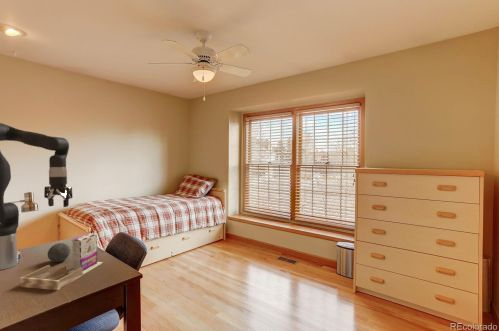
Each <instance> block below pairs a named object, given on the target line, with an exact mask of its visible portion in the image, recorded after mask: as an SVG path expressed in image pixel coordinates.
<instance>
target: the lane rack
mask: <svg viewBox="0 0 499 331" xmlns="http://www.w3.org/2000/svg"><path fill="white" fill-rule="evenodd" d="M83 276H84V274H83V268H82V267H81V268H79V269H77V270H75V271H73V272H72V273H67V266H64V265H63V266H61V267H60V268H57V269H56V270H54V271H52V272H51V265H50V264H47V265H45V266H43V267H41V268H38V269H37V270H34V271H32V272H30V273H28V274H25V275H24V276H21V277H20V278H19V287H21V288H30V289H42V290H50V291H52V290H53V291H59V290H60V289H63V288H64V287H66V286H68V285H69V284H71V283H73V282H74V281H76V280H78V279H79V278H81V277H83Z"/></svg>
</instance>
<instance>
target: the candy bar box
mask: <svg viewBox="0 0 499 331" xmlns="http://www.w3.org/2000/svg"><path fill="white" fill-rule="evenodd" d="M97 236H98V234H97V233H91V232H90V233H89V232H88V233H87V234H84V235H81V236H78V237H76V238H74V239H73V238H72V240H71V241H72V243H71V244H72V267H73V269H72V270H73V271H75V270H77V269H79V268H81V267H82V268H83V271H84V270H86V269H87V268H89V267H91V266H93V265H95V264H96V263H97V262H98V242H97V240H98V238H97Z"/></svg>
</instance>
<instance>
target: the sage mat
mask: <svg viewBox="0 0 499 331" xmlns="http://www.w3.org/2000/svg"><path fill="white" fill-rule="evenodd" d="M102 264H104V262H103V261H97V263H96V264H95V265H93V266H91V267H89V268H87V269H86V270H84V271H83V275H86V274H87V273H88V272H90V271H91V270H94V269H95V268H97V267H99V266H100V265H102ZM72 272H73V269H71V270H69V271H66V274H70V273H72Z"/></svg>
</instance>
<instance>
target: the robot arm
mask: <svg viewBox="0 0 499 331" xmlns="http://www.w3.org/2000/svg"><path fill="white" fill-rule="evenodd" d="M3 141H5V142H6V141H7V142H8V141H11V142H19V143H22V144H24V145H27V146H33V147H37V148H41V149H45V150H47V151H53V152H54V154H53V155H50V156H49V160H48V161H49V162H48V163H49V164H48V166H49V168H48V185H49V186H44V188H43V189H44V190H43V192H44V195H43V197H44V199H47V200H48V201H47V204H48V207H54V206H55V204H54V203H55V202H54V200H55V199H54V198H55V196H60V197H62V199H63V201H62V204H63V207H64V208H66V207H69V205H70V204H69V202H70V201H69V200H70V199H73V188H72V186H68V187H67V184H68V171H67V157H68V154H69V149H70V143H69V141H68V139H67V138H65V137H58V136H57V137H56V136H50V135H46V134H43V133H38V132H34V131H28V130H22V129H19V128H15V127H13V126H10V125H7V124H5V123H1V122H0V142H3ZM11 170H12V169H11V164H10V163H9V161H8V160H7V159H6V157H5V156H4V155H3V153H2V152H1V150H0V270H1V271H2V270H6V269H10V268H13V267H15V266H17V264H18V239H17V236H18V235H17V232H18V231H17V229H18V227H19V218H20V217H19V216H20V213H19V212H20V211H19V207H18V206H17V204H16V203H14V202H5V201H4V196H5V192H6V190H7V189H8V186H9V184H10V182H11V180H12V174H11Z"/></svg>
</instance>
